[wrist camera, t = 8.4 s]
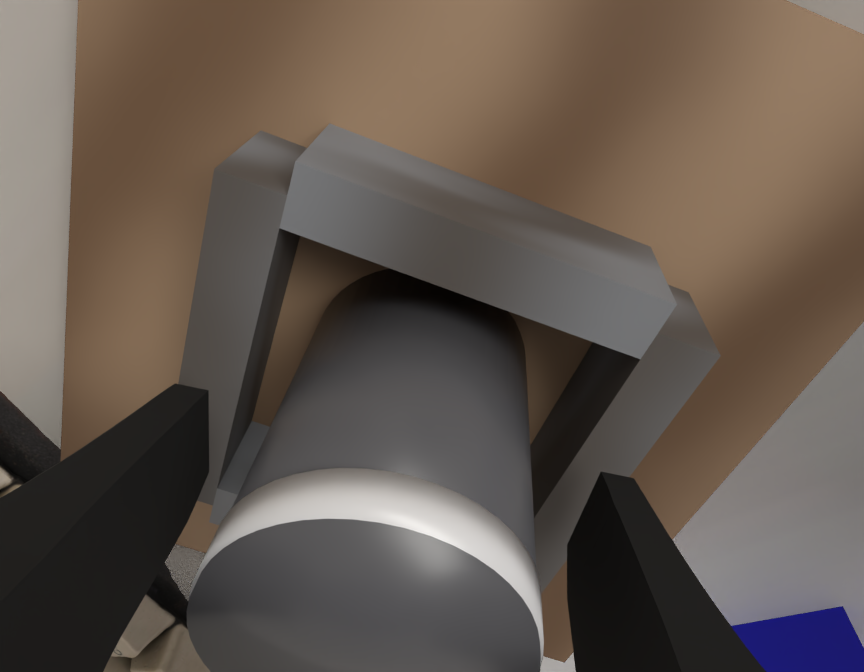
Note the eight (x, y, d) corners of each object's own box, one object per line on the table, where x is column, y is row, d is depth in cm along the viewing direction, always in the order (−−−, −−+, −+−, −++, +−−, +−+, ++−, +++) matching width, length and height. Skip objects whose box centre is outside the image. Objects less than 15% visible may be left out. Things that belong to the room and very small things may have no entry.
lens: (550, 285, 13) (587, 568, 7) (504, 457, 16) (504, 769, 10) (317, 246, 13) (166, 497, 7) (309, 425, 16) (195, 715, 10)
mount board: (998, 98, 12) (1164, 155, 9) (561, 627, 21) (570, 739, 18) (131, -282, 10) (-24, -369, 7) (81, 478, 20) (6, 575, 17)
